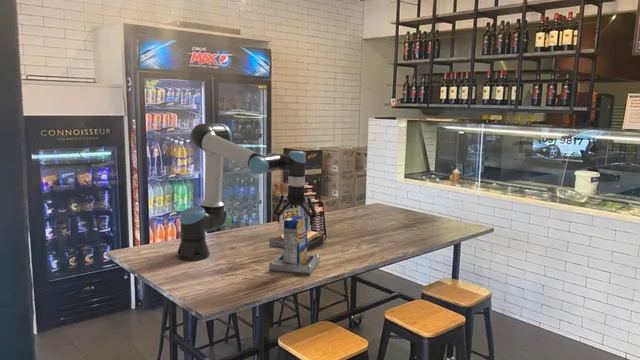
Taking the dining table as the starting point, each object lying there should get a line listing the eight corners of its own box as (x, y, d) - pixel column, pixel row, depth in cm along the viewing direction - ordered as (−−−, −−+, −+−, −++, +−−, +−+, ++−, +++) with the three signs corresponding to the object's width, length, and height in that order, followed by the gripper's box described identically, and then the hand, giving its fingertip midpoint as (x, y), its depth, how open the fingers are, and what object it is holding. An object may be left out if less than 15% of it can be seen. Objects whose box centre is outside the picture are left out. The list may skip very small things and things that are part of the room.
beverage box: (283, 267, 224) (283, 220, 220) (293, 260, 234) (294, 215, 230) (296, 269, 221) (297, 221, 218) (306, 262, 231) (307, 216, 228)
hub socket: (269, 271, 220) (269, 262, 220) (281, 258, 239) (281, 250, 238) (310, 275, 216) (310, 266, 216) (319, 262, 235) (319, 254, 234)
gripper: (267, 184, 221) (266, 230, 224) (321, 188, 216) (319, 235, 219) (272, 182, 228) (271, 226, 231) (324, 185, 223) (323, 231, 226)
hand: (294, 230), depth 225 cm, fingers open, 13 cm apart
